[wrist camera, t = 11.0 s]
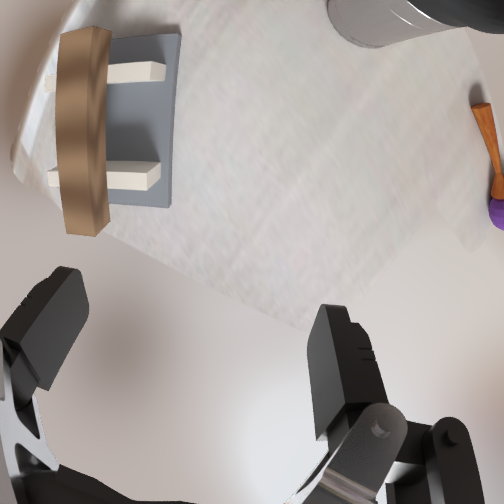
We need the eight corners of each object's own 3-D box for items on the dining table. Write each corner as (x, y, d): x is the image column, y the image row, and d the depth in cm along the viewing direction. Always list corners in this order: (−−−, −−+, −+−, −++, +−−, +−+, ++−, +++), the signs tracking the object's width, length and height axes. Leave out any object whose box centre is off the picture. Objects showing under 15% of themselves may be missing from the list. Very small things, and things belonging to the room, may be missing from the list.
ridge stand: (70, 49, 27) (42, 47, 21) (181, 35, 27) (165, 24, 22) (72, 197, 38) (47, 215, 32) (171, 203, 38) (156, 224, 33)
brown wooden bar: (81, 37, 21) (60, 34, 18) (111, 31, 21) (93, 26, 18) (83, 218, 32) (66, 233, 29) (110, 221, 32) (95, 236, 29)
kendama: (504, 100, 24) (527, 224, 31) (477, 100, 30) (503, 213, 37) (484, 111, 25) (509, 242, 32) (455, 111, 30) (484, 229, 38)
